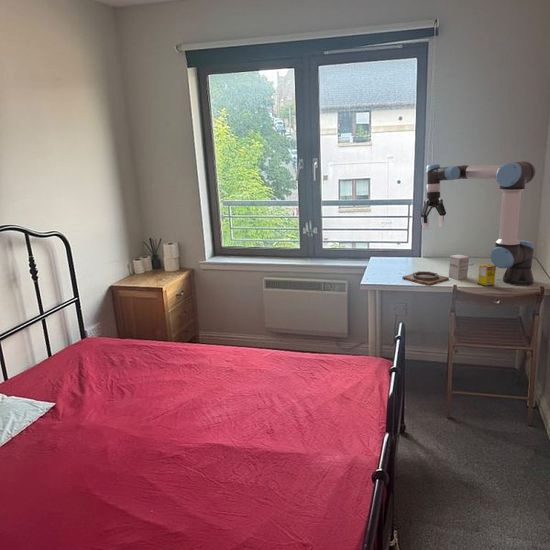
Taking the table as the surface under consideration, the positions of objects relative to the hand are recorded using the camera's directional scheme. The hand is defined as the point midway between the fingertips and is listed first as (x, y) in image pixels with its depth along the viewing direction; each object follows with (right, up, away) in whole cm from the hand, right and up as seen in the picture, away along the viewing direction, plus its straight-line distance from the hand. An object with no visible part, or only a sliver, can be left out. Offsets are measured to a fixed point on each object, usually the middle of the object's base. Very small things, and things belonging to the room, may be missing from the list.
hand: (433, 227), depth 293 cm
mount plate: (-9, -30, -13) cm, 34 cm away
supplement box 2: (+20, -34, -27) cm, 47 cm away
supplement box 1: (+10, -30, -12) cm, 34 cm away
